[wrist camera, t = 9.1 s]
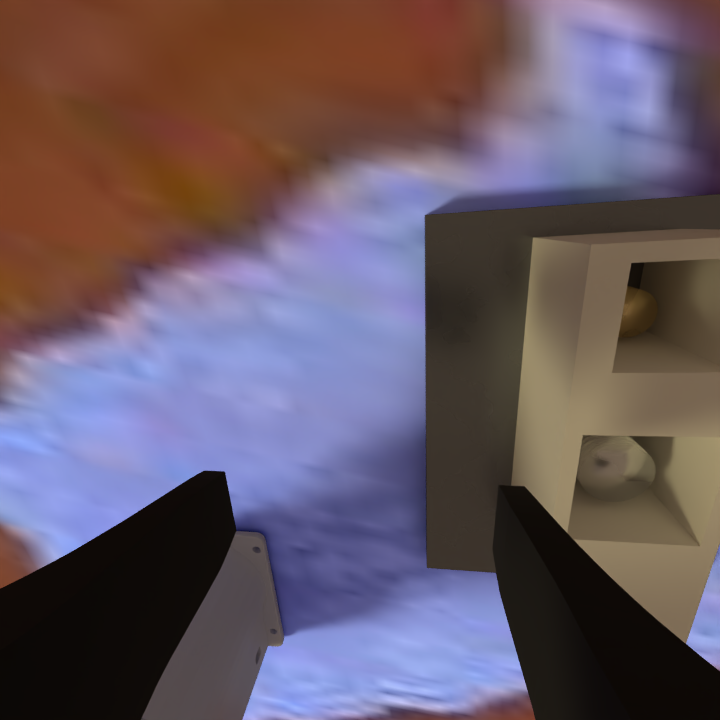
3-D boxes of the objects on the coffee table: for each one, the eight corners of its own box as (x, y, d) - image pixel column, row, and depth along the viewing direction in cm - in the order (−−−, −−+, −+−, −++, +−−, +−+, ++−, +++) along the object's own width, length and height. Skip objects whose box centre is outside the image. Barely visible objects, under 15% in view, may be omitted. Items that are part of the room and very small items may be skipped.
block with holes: (612, 551, 18) (679, 662, 14) (505, 544, 19) (535, 648, 14) (681, 228, 13) (824, 231, 9) (532, 237, 14) (591, 244, 9)
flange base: (680, 569, 19) (754, 665, 15) (426, 552, 21) (429, 633, 17) (795, 189, 13) (971, 173, 9) (424, 215, 15) (428, 212, 11)
